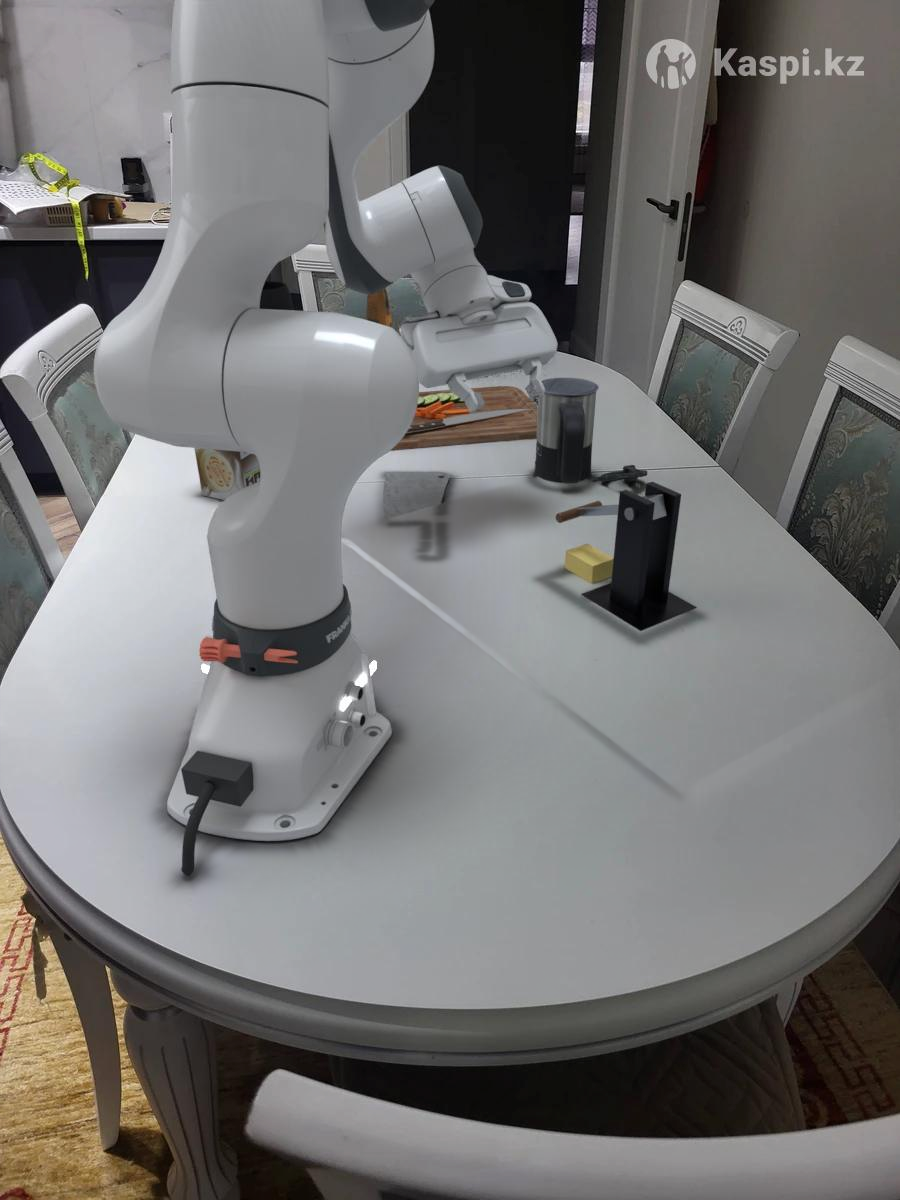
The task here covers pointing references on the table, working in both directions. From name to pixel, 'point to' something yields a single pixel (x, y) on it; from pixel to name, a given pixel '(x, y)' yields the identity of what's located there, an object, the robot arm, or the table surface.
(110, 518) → the table surface
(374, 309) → the wooden handle
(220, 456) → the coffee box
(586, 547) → the butter
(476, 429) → the chopping board
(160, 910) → the table surface
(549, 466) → the milk frother
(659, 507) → the slicer arm
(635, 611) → the bracket
